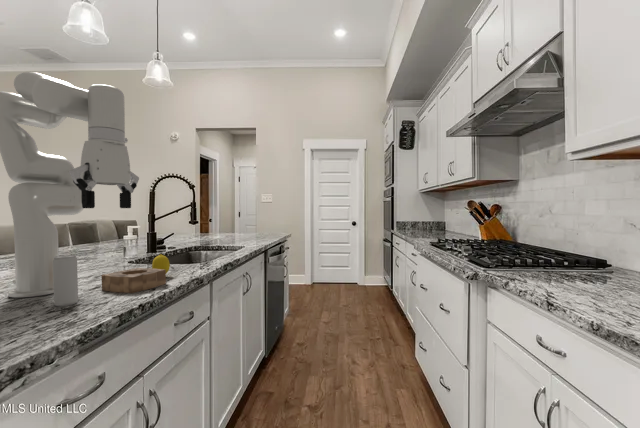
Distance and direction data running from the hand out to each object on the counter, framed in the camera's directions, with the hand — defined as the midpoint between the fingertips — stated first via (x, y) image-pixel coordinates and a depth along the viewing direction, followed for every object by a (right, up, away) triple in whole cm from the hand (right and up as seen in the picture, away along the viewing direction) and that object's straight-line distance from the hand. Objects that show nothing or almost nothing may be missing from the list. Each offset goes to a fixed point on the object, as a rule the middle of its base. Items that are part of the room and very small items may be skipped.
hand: (108, 208), depth 80 cm
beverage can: (-11, -24, +1) cm, 27 cm away
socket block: (-4, -24, +19) cm, 31 cm away
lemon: (-3, -24, +33) cm, 41 cm away
